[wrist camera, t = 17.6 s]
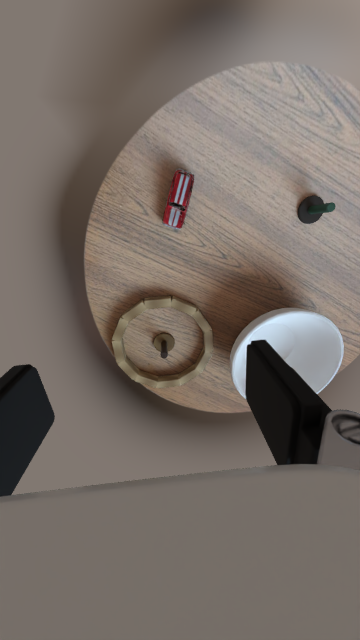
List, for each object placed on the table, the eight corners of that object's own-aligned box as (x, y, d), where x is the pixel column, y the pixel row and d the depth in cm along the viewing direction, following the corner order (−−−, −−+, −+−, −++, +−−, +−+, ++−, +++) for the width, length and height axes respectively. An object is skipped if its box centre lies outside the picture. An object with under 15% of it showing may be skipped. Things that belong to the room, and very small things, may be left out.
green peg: (296, 224, 37) (315, 223, 32) (299, 197, 35) (319, 192, 30) (320, 222, 37) (342, 221, 32) (324, 195, 35) (348, 189, 31)
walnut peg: (155, 352, 44) (154, 366, 39) (152, 333, 42) (151, 346, 38) (175, 350, 44) (176, 364, 39) (173, 331, 43) (174, 344, 38)
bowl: (334, 345, 46) (362, 365, 39) (256, 398, 50) (270, 424, 43) (285, 275, 40) (309, 284, 33) (201, 342, 44) (208, 362, 37)
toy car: (160, 224, 35) (160, 223, 32) (174, 167, 33) (175, 161, 30) (182, 231, 36) (184, 231, 33) (197, 176, 33) (201, 170, 30)
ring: (124, 386, 47) (123, 392, 45) (105, 301, 40) (103, 304, 38) (212, 376, 47) (214, 382, 45) (209, 291, 40) (211, 294, 38)
